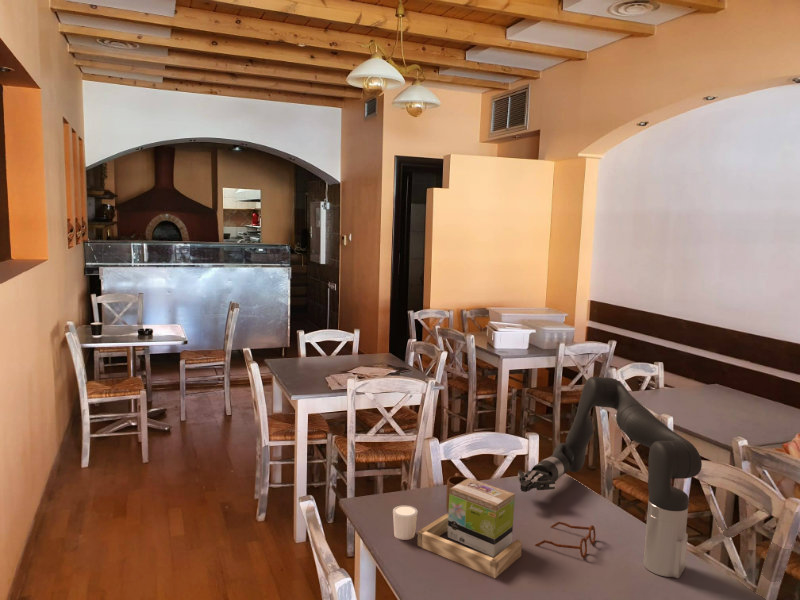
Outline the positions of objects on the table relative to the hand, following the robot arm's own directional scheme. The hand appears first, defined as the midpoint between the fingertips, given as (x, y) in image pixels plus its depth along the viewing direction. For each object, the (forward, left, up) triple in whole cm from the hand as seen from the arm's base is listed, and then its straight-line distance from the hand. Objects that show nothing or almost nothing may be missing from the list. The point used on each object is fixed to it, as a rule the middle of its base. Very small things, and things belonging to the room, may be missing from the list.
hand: (523, 488), depth 189 cm
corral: (0, +31, -7) cm, 31 cm away
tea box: (0, +24, -7) cm, 25 cm away
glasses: (-18, +9, -8) cm, 21 cm away
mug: (+16, +11, -7) cm, 21 cm away
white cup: (+18, +35, -7) cm, 40 cm away
